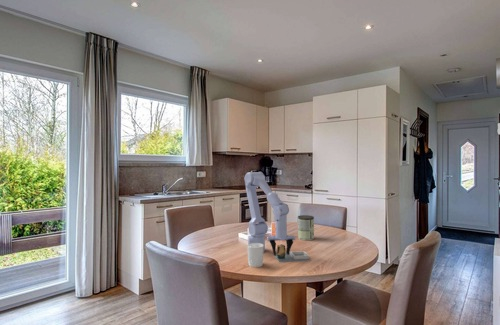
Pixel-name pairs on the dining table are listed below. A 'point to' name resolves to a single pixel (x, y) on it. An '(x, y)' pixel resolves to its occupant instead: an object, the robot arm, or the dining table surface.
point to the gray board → (295, 257)
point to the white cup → (255, 254)
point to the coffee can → (305, 227)
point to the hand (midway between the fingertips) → (281, 254)
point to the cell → (281, 251)
